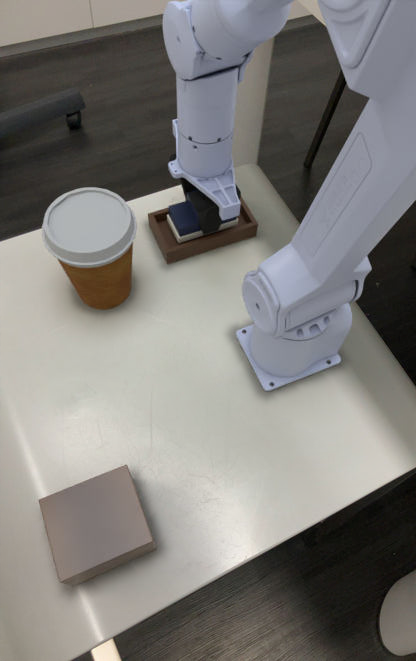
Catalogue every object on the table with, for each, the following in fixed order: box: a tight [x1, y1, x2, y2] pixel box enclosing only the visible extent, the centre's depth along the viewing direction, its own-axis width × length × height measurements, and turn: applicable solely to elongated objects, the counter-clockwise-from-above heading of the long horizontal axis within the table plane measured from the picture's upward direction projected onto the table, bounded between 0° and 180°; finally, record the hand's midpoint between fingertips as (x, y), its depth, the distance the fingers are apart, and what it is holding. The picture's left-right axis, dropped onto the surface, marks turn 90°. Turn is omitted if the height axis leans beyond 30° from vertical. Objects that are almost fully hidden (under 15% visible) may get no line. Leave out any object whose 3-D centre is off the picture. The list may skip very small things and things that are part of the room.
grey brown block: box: [38, 464, 157, 587], centre depth 46 cm, size 8×7×5 cm
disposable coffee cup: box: [41, 186, 138, 310], centre depth 56 cm, size 10×10×12 cm
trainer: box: [167, 189, 238, 243], centre depth 62 cm, size 8×4×5 cm, turn 113°
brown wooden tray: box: [147, 196, 259, 265], centre depth 65 cm, size 12×7×2 cm, turn 113°
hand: (203, 217), depth 64 cm, fingers closed on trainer, 4 cm apart
